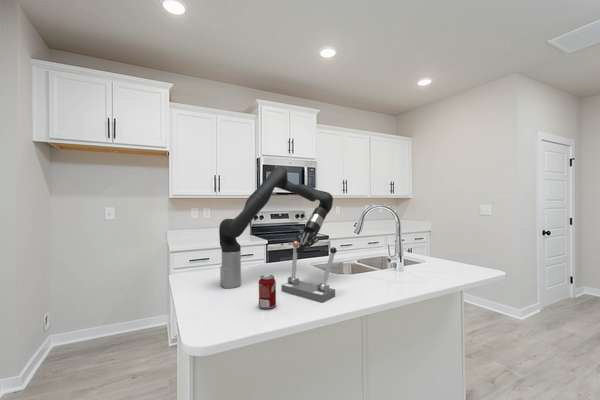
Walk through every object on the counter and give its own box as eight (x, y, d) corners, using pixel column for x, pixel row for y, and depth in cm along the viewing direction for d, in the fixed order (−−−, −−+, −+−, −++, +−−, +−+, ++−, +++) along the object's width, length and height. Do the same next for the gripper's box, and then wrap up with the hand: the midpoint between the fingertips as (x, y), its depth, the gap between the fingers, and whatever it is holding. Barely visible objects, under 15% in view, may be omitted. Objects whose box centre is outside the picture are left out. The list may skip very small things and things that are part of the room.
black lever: (321, 290, 123) (333, 248, 131) (326, 291, 121) (338, 249, 129) (317, 288, 121) (329, 245, 129) (323, 289, 119) (335, 246, 127)
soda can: (268, 311, 108) (268, 279, 108) (255, 307, 111) (255, 277, 111) (279, 305, 113) (279, 275, 113) (266, 302, 117) (265, 273, 117)
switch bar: (295, 286, 138) (295, 274, 138) (335, 296, 124) (335, 283, 124) (281, 291, 131) (281, 279, 130) (322, 302, 116) (322, 288, 116)
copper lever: (292, 282, 134) (295, 240, 136) (297, 283, 133) (300, 241, 134) (288, 282, 132) (291, 240, 134) (293, 284, 130) (296, 241, 132)
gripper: (327, 230, 141) (313, 258, 132) (306, 229, 150) (292, 255, 140) (321, 220, 137) (306, 249, 128) (300, 219, 145) (285, 246, 136)
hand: (299, 252), depth 134 cm, fingers closed
